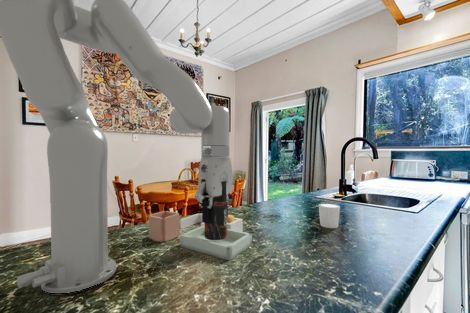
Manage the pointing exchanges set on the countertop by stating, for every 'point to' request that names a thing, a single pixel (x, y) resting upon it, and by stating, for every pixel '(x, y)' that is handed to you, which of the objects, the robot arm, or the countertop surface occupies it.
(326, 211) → the white tapered cylinder
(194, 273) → the countertop surface
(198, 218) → the white recessed tray
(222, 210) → the deodorant
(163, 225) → the cup
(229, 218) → the button
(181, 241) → the trough
